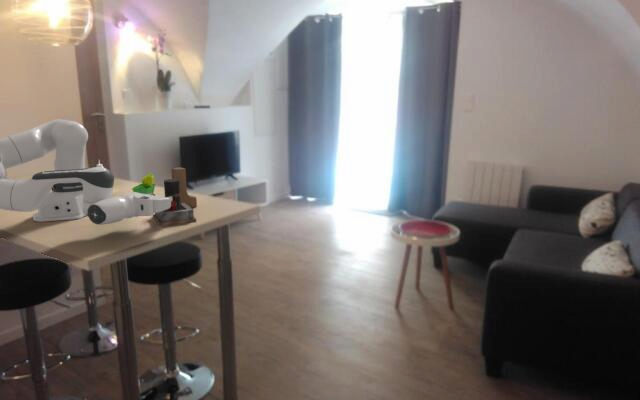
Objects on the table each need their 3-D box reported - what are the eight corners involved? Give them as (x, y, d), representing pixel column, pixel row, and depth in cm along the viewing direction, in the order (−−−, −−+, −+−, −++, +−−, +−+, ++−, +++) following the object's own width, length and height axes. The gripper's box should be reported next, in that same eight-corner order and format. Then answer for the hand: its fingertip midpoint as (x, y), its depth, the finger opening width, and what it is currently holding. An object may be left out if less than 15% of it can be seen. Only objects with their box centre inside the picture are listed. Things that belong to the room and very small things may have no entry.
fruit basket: (141, 193, 234) (139, 171, 231) (159, 193, 234) (157, 171, 231) (132, 199, 223) (129, 175, 220) (150, 199, 223) (148, 176, 220)
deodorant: (184, 215, 192) (182, 179, 189) (174, 219, 187) (172, 182, 183) (173, 213, 195) (170, 178, 191) (163, 217, 189) (160, 181, 186)
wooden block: (192, 204, 214) (189, 165, 209) (197, 206, 211) (195, 167, 206) (173, 208, 208) (171, 168, 203) (178, 210, 204) (176, 169, 200)
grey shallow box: (160, 226, 182) (159, 214, 181) (152, 217, 194) (151, 206, 192) (196, 221, 189) (195, 210, 188) (186, 212, 201) (186, 202, 199)
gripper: (114, 209, 177) (144, 201, 189) (153, 216, 168) (181, 208, 180) (113, 192, 176) (142, 186, 188) (152, 199, 166) (180, 192, 178)
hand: (162, 196), depth 183 cm, fingers open, 8 cm apart
